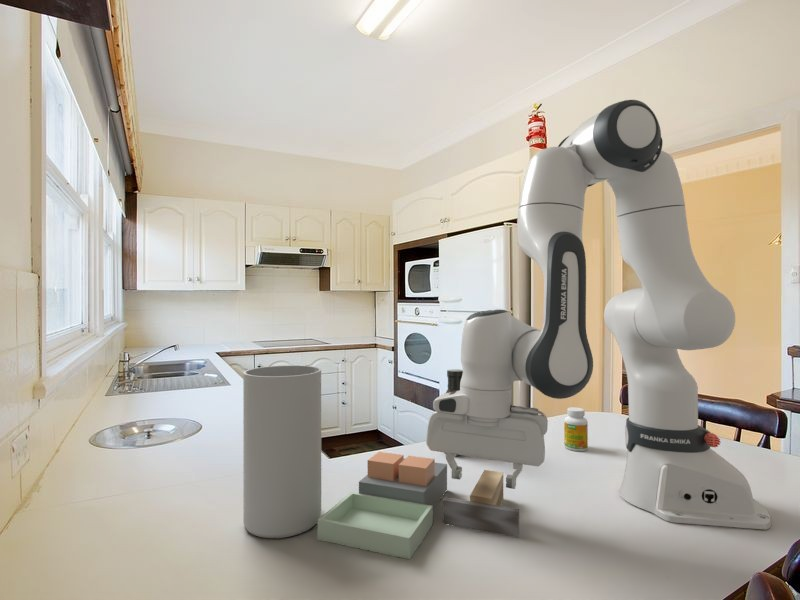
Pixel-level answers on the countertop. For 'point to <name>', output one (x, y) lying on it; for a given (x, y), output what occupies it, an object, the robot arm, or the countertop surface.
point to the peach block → (416, 470)
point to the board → (408, 488)
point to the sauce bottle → (454, 380)
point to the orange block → (384, 466)
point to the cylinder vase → (281, 450)
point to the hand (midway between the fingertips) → (483, 482)
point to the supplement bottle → (576, 430)
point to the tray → (376, 524)
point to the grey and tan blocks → (483, 508)
